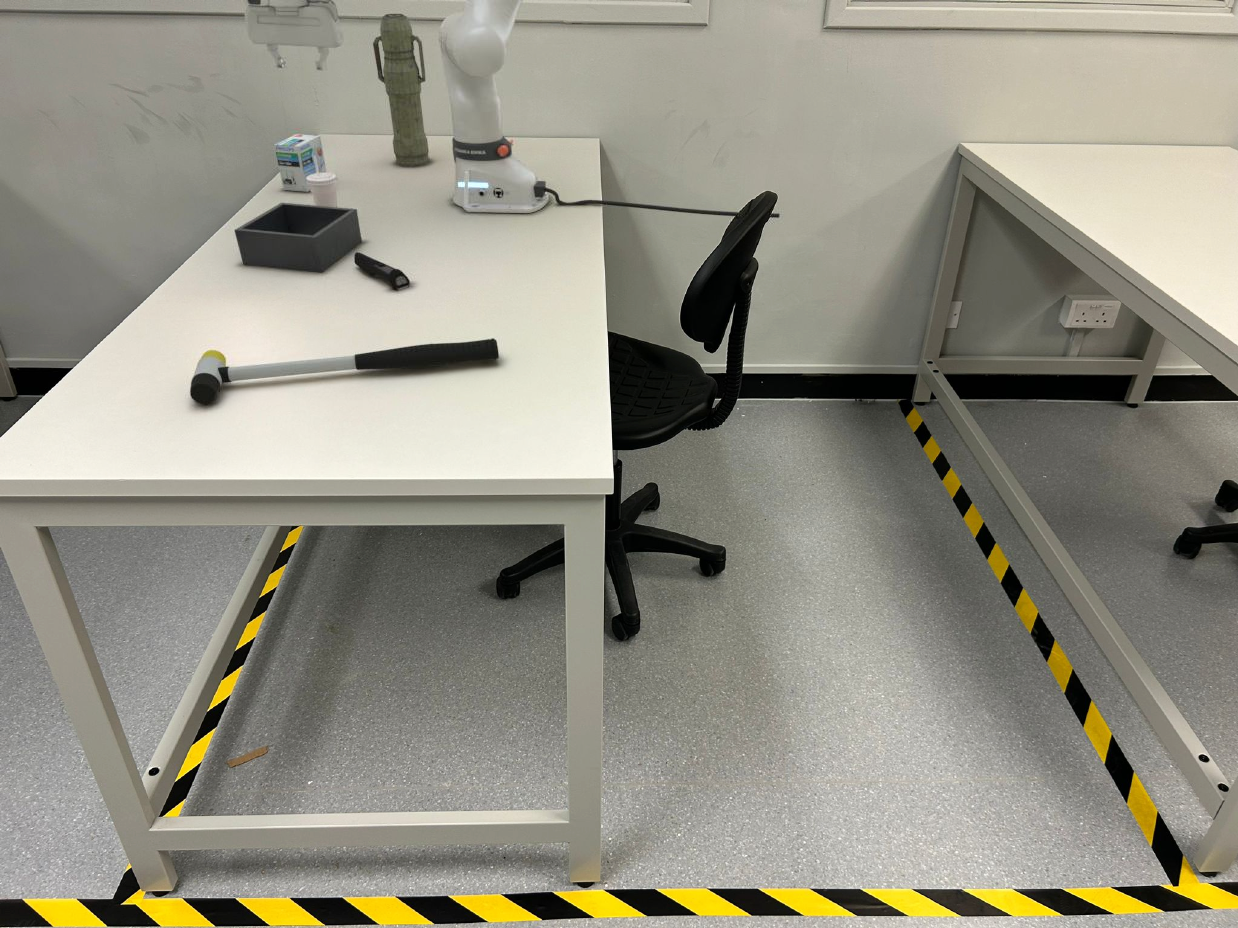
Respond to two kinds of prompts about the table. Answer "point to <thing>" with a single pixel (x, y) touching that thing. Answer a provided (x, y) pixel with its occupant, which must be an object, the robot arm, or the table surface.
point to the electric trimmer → (382, 271)
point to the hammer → (335, 364)
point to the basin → (299, 237)
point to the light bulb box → (299, 160)
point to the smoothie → (323, 187)
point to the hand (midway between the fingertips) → (301, 68)
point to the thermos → (403, 88)
